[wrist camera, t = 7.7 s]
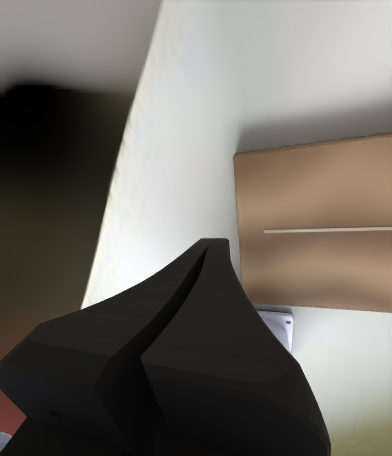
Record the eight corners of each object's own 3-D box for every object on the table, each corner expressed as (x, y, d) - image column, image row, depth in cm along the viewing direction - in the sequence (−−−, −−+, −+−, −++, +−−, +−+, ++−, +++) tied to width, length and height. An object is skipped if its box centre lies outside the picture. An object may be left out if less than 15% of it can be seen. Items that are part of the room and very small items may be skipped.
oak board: (532, 303, 16) (568, 325, 14) (244, 288, 22) (243, 302, 20) (692, 92, 10) (789, 85, 8) (235, 153, 16) (233, 157, 14)
